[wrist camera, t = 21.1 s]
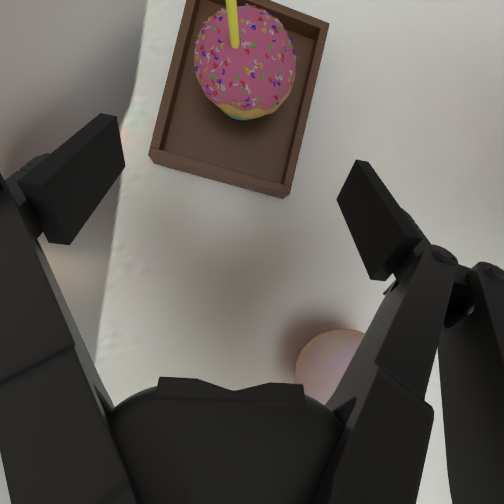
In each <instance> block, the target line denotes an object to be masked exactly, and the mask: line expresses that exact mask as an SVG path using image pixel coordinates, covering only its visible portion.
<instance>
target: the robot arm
mask: <svg viewBox="0 0 504 504" xmlns="http://www.w3.org/2000/svg"><path fill="white" fill-rule="evenodd" d="M124 168H125V161H124V156H123V150H122V144H121V139H120V133H119V128H118V122H117V117H116V116H112V115H107V114H101V113H100V114H99V115H98V116H97V117H95V118H94V119H93V120H92V121H90V122H89V123H88V124H87V125H85V126H84V127H83V128H82V129H81V130H79V131H78V132H77V133H76V134H74V135H73V136H72V137H71V138H70V139H68V140H67V141H66V142H65V143H63V144H62V145H61V146H60V147H59V148H58V149H56V150H55V151H54V152H52V153H51V154H49V153H46V154H43V155H40V156H38V157H35V158H33V159H32V160H31V161H29V162H28V163H27V164H26V165H24V166H23V167H22V168H20V171H16V172H15V173H14V174H13V175H11V176H10V177H9V178H7V179H6V180H5V181H4V179H3V177H2V175H1V174H0V452H1V457H2V462H3V466H4V471H5V476H6V481H7V486H8V490H9V495H10V500H11V504H416V500H417V495H418V491H419V486H420V481H421V477H422V472H423V467H424V463H425V458H426V453H427V449H428V444H429V439H430V435H431V430H432V425H433V420H434V410H433V408H432V406H431V405H429V404H428V403H427V402H425V394H426V390H427V386H428V382H429V378H430V374H431V370H432V366H433V362H434V358H435V354H436V350H437V347H438V359H439V372H440V384H441V396H442V408H443V421H444V433H445V445H446V458H447V470H448V478H449V486H450V493H451V498H452V503H453V504H504V271H503V270H502V269H500V268H499V267H497V266H494V265H492V264H490V263H487V262H479V263H477V264H476V265H475V266H474V267H472V268H468V267H465V266H462V265H459V264H458V260H457V259H456V257H455V256H454V255H453V254H452V253H451V252H449V251H448V250H446V249H445V248H442V247H440V246H437V245H431V243H430V242H429V241H428V239H427V238H426V236H425V235H424V234H423V232H422V231H421V230H420V229H419V227H418V225H417V224H416V223H415V221H414V220H413V219H412V217H411V216H410V215H409V214H408V213H407V212H406V211H405V210H403V209H402V208H401V207H400V206H399V205H398V203H397V202H396V200H395V199H394V198H393V196H392V195H391V193H390V192H389V190H388V189H387V188H386V186H385V185H384V183H383V182H382V181H381V179H380V178H379V176H378V175H377V174H376V172H375V171H374V169H373V168H372V166H371V165H370V164H369V162H366V161H361V160H356V161H355V163H354V165H353V167H352V169H351V171H350V173H349V175H348V177H347V179H346V181H345V183H344V185H343V187H342V189H341V191H340V193H339V195H338V197H337V199H336V200H337V202H338V204H339V207H340V209H341V211H342V214H343V216H344V218H345V221H346V223H347V226H348V228H349V230H350V233H351V235H352V237H353V240H354V242H355V244H356V247H357V249H358V251H359V254H360V256H361V258H362V261H363V263H364V266H365V268H366V270H367V273H368V275H369V277H370V280H379V281H386V280H387V279H388V278H389V276H390V275H391V274H392V273H393V274H394V276H395V278H396V280H395V281H394V282H393V283H392V284H391V285H390V286H389V288H388V289H387V290H386V291H385V292H384V293H383V294H384V295H386V296H385V298H384V299H383V301H382V303H381V305H380V307H379V309H378V311H377V313H376V314H375V316H374V318H373V320H372V322H371V324H370V326H369V328H368V330H367V331H366V333H365V335H364V337H363V339H362V341H361V343H360V345H359V347H358V348H357V350H356V352H355V354H354V356H353V358H352V360H351V362H350V363H349V365H348V367H347V369H346V371H345V373H344V375H343V377H342V379H341V380H340V382H339V384H338V386H337V388H336V390H335V392H334V393H333V395H332V396H331V398H330V399H329V400H328V401H327V402H326V404H325V405H323V404H322V403H320V402H319V401H317V400H316V399H314V398H312V397H310V396H308V395H306V394H304V386H303V384H290V383H271V382H270V383H266V384H262V385H258V386H254V387H250V388H245V389H241V390H237V391H231V390H228V389H225V388H222V387H220V386H217V385H214V384H211V383H208V382H205V381H202V380H199V379H194V378H175V377H159V381H158V385H157V386H155V387H151V388H148V389H146V390H143V391H140V392H138V393H136V394H134V395H132V396H130V397H129V398H127V399H126V400H124V401H122V402H121V403H120V404H118V405H117V406H116V407H114V405H113V403H112V401H111V399H110V397H109V395H108V393H107V391H106V389H105V387H104V385H103V383H102V381H101V379H100V377H99V375H98V372H97V370H96V368H95V366H94V364H93V361H92V359H91V357H90V355H89V352H88V350H87V348H86V346H85V343H84V341H83V339H82V337H81V335H80V332H79V330H78V328H77V326H76V323H75V321H74V319H73V317H72V314H71V312H70V310H69V308H68V306H67V303H66V301H65V299H64V296H63V294H62V292H61V290H60V288H59V285H58V283H57V281H56V279H55V277H54V274H53V272H52V270H51V267H50V265H49V263H48V261H47V258H46V256H45V254H44V252H43V250H42V247H41V245H40V243H39V242H38V240H37V238H38V237H39V236H40V235H41V233H42V232H44V234H45V236H46V238H47V240H48V242H49V243H56V244H64V245H70V244H71V242H72V241H73V240H74V238H75V237H76V235H77V234H78V232H79V231H80V230H81V228H82V227H83V226H84V224H85V223H86V221H87V220H88V219H89V217H90V216H91V214H92V213H93V211H94V210H95V209H96V207H97V206H98V204H99V203H100V201H101V200H102V199H103V197H104V196H105V195H106V193H107V192H108V190H109V189H110V187H111V186H112V185H113V183H114V182H115V180H116V179H117V177H118V176H119V175H120V173H121V172H122V171H123V169H124Z"/></svg>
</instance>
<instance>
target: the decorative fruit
mask: <svg viewBox="0 0 504 504" xmlns="http://www.w3.org/2000/svg"><path fill="white" fill-rule="evenodd" d="M364 335H365V333H362V332H360V331H356V330H351V329H337V330H331V331H327V332H324V333H322V334H319V335H317V336H316V337H314V338H313V339H312V340H311V341H309V342H308V343H307V344H306V345H305V346H304V348H303V349H302V350H301V352H300V354H299V357H298V359H297V363H296V367H295V373H294V384H303V386H304V394H306V395H308V396H310V397H312V398H314V399H316V400H317V401H319V402H320V403H322V404H323V405H325V404H326V402H327V401H328V400H329V399H330V398H331V396H332V395H333V393H334V392H335V390H336V388H337V386H338V384H339V382H340V380H341V379H342V377H343V375H344V373H345V371H346V369H347V367H348V365H349V363H350V362H351V360H352V358H353V356H354V354H355V352H356V350H357V348H358V347H359V345H360V343H361V341H362V339H363V337H364Z"/></svg>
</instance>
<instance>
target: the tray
mask: <svg viewBox="0 0 504 504" xmlns="http://www.w3.org/2000/svg"><path fill="white" fill-rule="evenodd" d="M236 1H237V6H242V5H245V4H246V3H247V4H248V5H249V6H252V7H253V6H255V7H256V8H257V9H260V8H262V9H264V10H266V12H267V13H271V14H272V16H274V17H275V18H277V19H278V20H279V21H280V23H282V24H283V27H284V29H285V31H286V32H287V34H289V38H292V39H293V42H292V41H291V42H292V45H293V49H294V51H295V57H296V58H295V59H296V68H297V70H295V78H294V81H293V85H292V88H291V92H290V94H289V96H288V97H287V98H286V100H285V101H284V102H283V103H282V104H281V105H280V106H279V108H278V109H277V110H276V111H275V112H273V113H271V114H266V115H264V116H261V117H258V118H254V119H248V120H236V119H233V118H231V117H229V116H228V115H226V114H225V113H224V112H223V111H222V110H221V109H220V108H219V107H217V106H216V105H215V104H214V103H213V102H212V101H211V100H209V99H208V98H207V97H206V95H205V94H204V91H203V90H202V87H201V85H200V83H199V81H198V79H197V77H196V73H195V64H194V54H195V52H194V51H195V46H196V41H197V37H198V34H199V32H200V30H201V29H202V27H203V26H204V22H206V21H208V18H209V17H212V16H213V15H214V14H216V13H217V12H218V11H220V10H221V8H223V9H226V0H186V4H185V8H184V12H183V17H182V21H181V25H180V29H179V33H178V37H177V41H176V45H175V49H174V53H173V57H172V61H171V65H170V69H169V73H168V77H167V81H166V85H165V89H164V93H163V97H162V101H161V105H160V109H159V113H158V117H157V121H156V125H155V129H154V133H153V137H152V141H151V145H150V150H149V154H148V155H149V157H150V158H151V160H152V161H153V162H154V163H155V164H158V165H162V166H166V167H169V168H173V169H176V170H180V171H184V172H187V173H191V174H195V175H198V176H202V177H206V178H209V179H213V180H216V181H220V182H224V183H227V184H231V185H235V186H238V187H242V188H245V189H249V190H253V191H256V192H260V193H264V194H267V195H271V196H275V197H278V198H282V199H284V198H285V197H286V196H288V195H289V194H290V190H291V185H292V181H293V177H294V173H295V168H296V164H297V160H298V156H299V151H300V147H301V143H302V139H303V134H304V130H305V126H306V121H307V117H308V113H309V109H310V104H311V100H312V96H313V92H314V87H315V83H316V79H317V75H318V70H319V66H320V62H321V58H322V53H323V49H324V45H325V41H326V36H327V31H328V28H329V23H327V22H324V21H322V20H319V19H317V18H314V17H311V16H309V15H306V14H304V13H301V12H299V11H296V10H293V9H291V8H288V7H286V6H283V5H280V4H278V3H275V2H273V1H270V0H236ZM262 9H261V10H262ZM271 14H270V15H271ZM278 20H277V21H278ZM292 39H291V40H292Z"/></svg>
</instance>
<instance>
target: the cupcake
mask: <svg viewBox="0 0 504 504" xmlns="http://www.w3.org/2000/svg"><path fill="white" fill-rule="evenodd" d="M261 9H262V8H260V9H257V8H256V7H255V6H253V7H252V6H249V5H248V4H247V3H246V4H245V5H242V6H237V1H236V0H226V9H223V8H221V10H220V11H218V12H217V13H216V14H214V15H213V16H212V17H209V18H208V21H206V22H204V26H203V27H202V29H201V30H200V32H199V34H198V37H197V41H196V46H195V51H194V52H195V54H194V64H195V73H196V77H197V79H198V81H199V83H200V85H201V87H202V90H203V91H204V94H205V95H206V97H207V98H208V99H209V100H211V101H212V102H213V103H214V104H215V105H216V106H217V107H219V108H220V109H221V110H222V111H223V112H224V113H225V114H226V115H228V116H229V117H231V118H233V119H236V120H248V119H254V118H258V117H261V116H264V115H266V114H271V113H273V112H275V111H276V110H277V109H278V108H279V106H280V105H281V104H282V103H283V102H284V101H285V100H286V98H287V97H288V96H289V94H290V92H291V88H292V85H293V81H294V78H295V70H297V68H296V59H295V58H296V57H295V51H294V49H293V45H292V42H293V39H292V38H289V34H287V32H286V31H285V29H284V27H283V24H282V23H280V21H279V20H278V19H277V18H275V17H274V16H272V14H271V13H267V12H266V10H264V9H262V10H261ZM270 14H271V15H270ZM277 20H278V21H277ZM291 39H292V40H291ZM291 41H292V42H291Z"/></svg>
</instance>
